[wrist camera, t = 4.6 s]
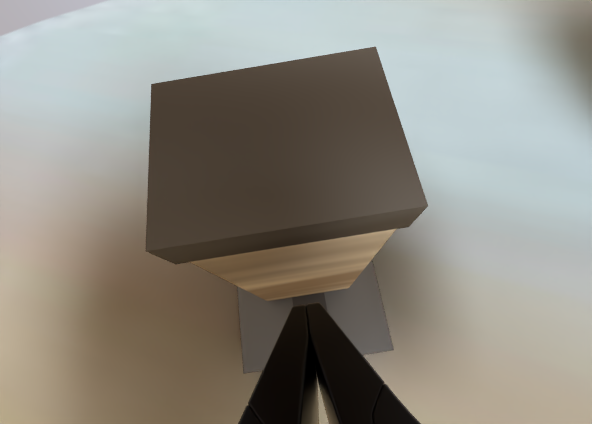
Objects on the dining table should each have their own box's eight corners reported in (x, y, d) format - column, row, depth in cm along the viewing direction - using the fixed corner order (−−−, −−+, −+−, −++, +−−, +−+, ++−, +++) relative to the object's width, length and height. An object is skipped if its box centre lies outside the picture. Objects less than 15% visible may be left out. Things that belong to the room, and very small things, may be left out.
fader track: (386, 348, 15) (396, 350, 13) (250, 369, 15) (241, 375, 14) (330, 104, 21) (331, 82, 19) (230, 120, 21) (221, 100, 19)
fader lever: (351, 290, 15) (428, 205, 4) (265, 303, 15) (145, 250, 4) (338, 228, 16) (375, 46, 6) (259, 240, 16) (151, 84, 6)
